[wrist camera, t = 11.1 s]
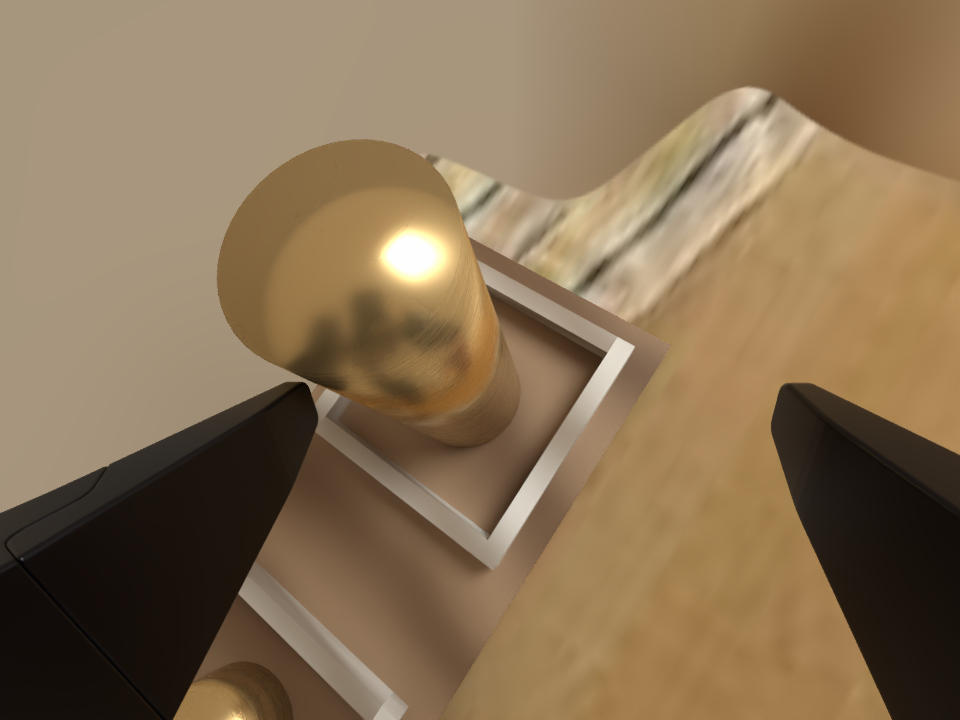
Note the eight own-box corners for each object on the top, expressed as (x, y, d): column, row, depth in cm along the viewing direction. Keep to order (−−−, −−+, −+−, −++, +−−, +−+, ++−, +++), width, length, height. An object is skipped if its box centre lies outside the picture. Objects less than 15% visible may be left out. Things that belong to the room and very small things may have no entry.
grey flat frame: (272, 984, 18) (223, 1066, 16) (86, 737, 22) (22, 770, 20) (664, 354, 22) (676, 336, 19) (443, 234, 25) (429, 206, 23)
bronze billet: (531, 434, 20) (484, 336, 8) (421, 457, 21) (218, 399, 9) (508, 329, 22) (437, 111, 10) (406, 353, 22) (215, 176, 10)
